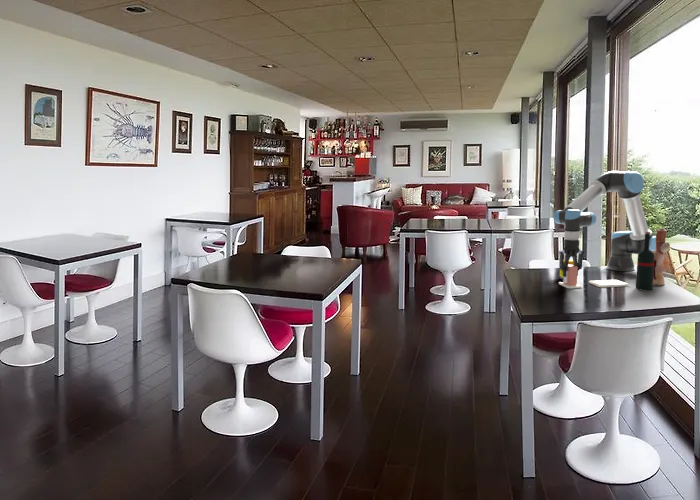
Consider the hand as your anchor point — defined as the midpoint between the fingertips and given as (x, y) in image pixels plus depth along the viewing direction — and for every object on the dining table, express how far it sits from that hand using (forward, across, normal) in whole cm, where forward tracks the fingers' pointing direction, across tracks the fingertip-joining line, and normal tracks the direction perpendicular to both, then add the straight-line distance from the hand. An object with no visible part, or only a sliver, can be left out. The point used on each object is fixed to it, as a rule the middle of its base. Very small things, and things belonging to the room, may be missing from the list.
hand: (569, 282), depth 307 cm
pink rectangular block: (+2, 0, 0) cm, 2 cm away
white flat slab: (+2, -22, 0) cm, 22 cm away
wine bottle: (+2, -35, +13) cm, 37 cm away
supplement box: (+2, -7, -17) cm, 19 cm away
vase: (+2, -47, +5) cm, 47 cm away
